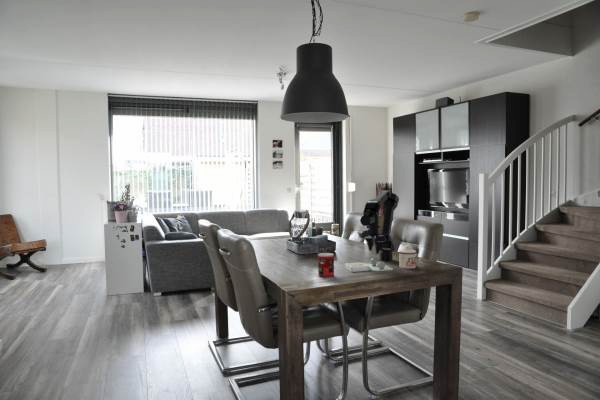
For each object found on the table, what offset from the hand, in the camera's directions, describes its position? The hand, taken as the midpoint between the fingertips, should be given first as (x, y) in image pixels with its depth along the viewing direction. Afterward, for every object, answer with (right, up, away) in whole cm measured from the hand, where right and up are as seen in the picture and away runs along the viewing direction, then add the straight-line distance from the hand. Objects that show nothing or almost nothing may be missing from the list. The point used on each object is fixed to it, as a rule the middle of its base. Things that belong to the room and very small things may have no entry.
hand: (373, 252), depth 236 cm
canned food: (-27, -10, -18) cm, 34 cm away
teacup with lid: (+19, -8, -4) cm, 21 cm away
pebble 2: (+2, -8, -9) cm, 12 cm away
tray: (+1, -8, -4) cm, 9 cm away
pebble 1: (0, -7, 0) cm, 7 cm away
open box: (-10, -9, -8) cm, 15 cm away
